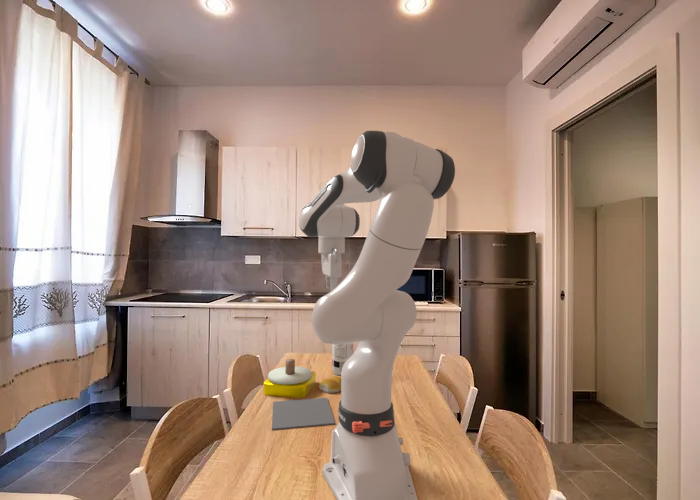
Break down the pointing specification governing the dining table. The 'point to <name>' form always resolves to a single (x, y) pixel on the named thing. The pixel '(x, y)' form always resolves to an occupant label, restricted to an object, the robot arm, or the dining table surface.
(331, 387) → the bread roll
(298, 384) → the element tile
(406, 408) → the dining table surface
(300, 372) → the lid
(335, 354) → the supplement can
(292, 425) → the mat
